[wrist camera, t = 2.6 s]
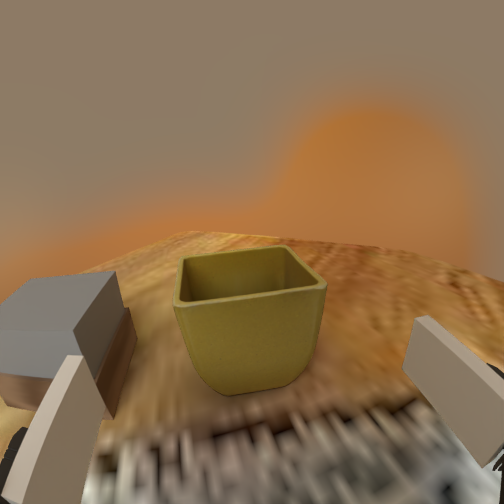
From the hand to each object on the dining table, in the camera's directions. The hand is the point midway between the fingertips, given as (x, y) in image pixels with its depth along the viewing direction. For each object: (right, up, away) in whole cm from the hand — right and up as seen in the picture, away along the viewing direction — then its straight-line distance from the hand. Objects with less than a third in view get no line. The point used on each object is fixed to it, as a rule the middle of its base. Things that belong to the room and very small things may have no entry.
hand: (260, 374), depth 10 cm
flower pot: (0, -5, +12) cm, 13 cm away
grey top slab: (-16, -3, +10) cm, 19 cm away
